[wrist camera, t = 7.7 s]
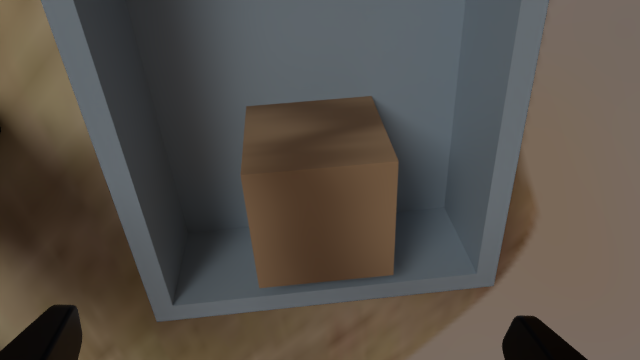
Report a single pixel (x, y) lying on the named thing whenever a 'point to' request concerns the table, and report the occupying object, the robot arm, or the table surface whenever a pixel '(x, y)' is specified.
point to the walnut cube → (319, 191)
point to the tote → (298, 86)
